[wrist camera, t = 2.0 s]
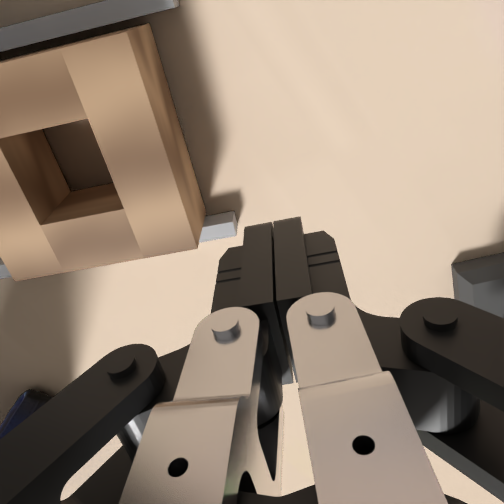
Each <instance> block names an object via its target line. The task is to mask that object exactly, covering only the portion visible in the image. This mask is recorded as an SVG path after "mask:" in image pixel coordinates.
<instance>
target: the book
mask: <svg viewBox="0 0 504 504" xmlns="http://www.w3.org/2000/svg"><path fill="white" fill-rule="evenodd" d="M50 399H52V397H49V396H48V395H46V394H44V393H43V392H37V391H33V390H27V391H26V392H24V393H23V394H21V395H20V397H19V398H18V399H17V401H16V403H15V404H14V405H13V407H12V408H11V409H10V411H9V413H8V414H7V416H6V418H5V419H4V421H3V423H2V424H1V425H0V439H1V438H3V437H4V436H5V435H6V434H8V433H9V432H10V431H11V430H13V429H14V428H15V427H16V426H18V425H19V424H20V423H21V422H23V421H24V420H25V419H26V418H28V417H29V416H30V415H31V414H33V413H34V412H35V411H36V410H38V409H39V408H40V407H41V406H43V405H44V404H45V403H47V402H48V401H49V400H50Z"/></svg>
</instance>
